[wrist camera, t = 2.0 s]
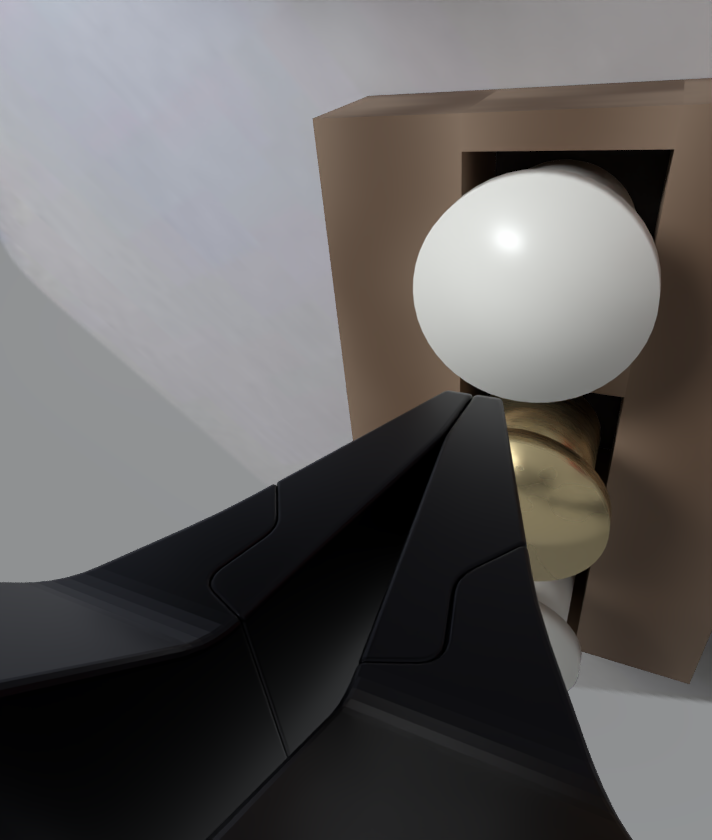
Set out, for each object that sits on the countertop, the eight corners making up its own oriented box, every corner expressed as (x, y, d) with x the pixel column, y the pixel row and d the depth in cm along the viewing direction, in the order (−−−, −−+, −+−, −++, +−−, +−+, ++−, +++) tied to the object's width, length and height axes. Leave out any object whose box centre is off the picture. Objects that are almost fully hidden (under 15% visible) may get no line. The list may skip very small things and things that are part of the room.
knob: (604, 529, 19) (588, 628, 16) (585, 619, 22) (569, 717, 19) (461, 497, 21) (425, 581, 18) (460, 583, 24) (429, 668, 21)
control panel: (886, 69, 12) (936, 95, 10) (689, 604, 23) (689, 684, 20) (368, 95, 17) (312, 118, 15) (400, 530, 27) (371, 587, 25)
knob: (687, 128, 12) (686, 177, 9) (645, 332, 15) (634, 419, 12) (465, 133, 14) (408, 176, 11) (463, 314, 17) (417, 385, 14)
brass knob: (637, 372, 16) (625, 463, 13) (609, 502, 19) (594, 601, 16) (462, 351, 18) (418, 425, 15) (461, 471, 20) (424, 555, 18)
